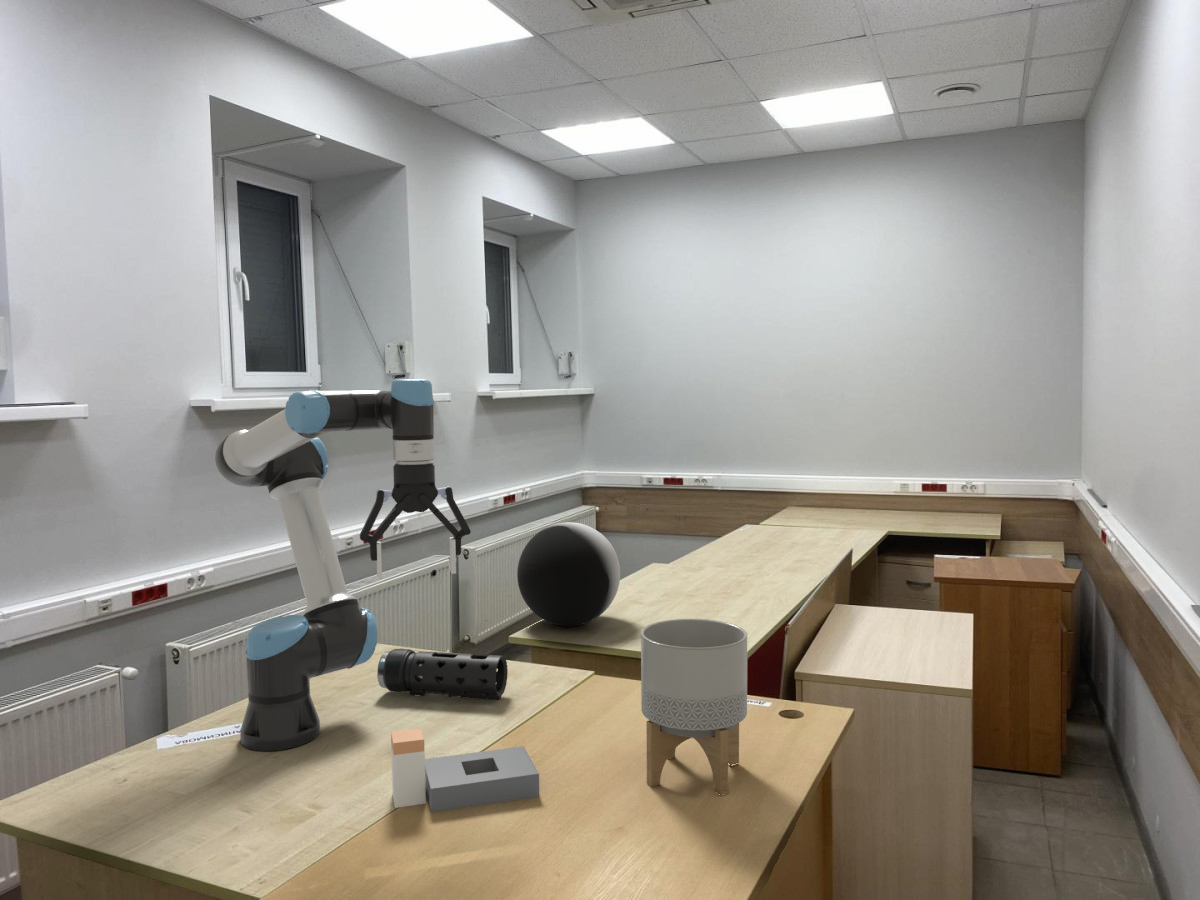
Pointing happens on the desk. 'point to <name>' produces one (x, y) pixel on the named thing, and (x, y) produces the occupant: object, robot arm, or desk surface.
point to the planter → (693, 692)
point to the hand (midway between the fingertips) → (416, 575)
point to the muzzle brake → (443, 673)
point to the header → (480, 778)
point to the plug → (408, 767)
